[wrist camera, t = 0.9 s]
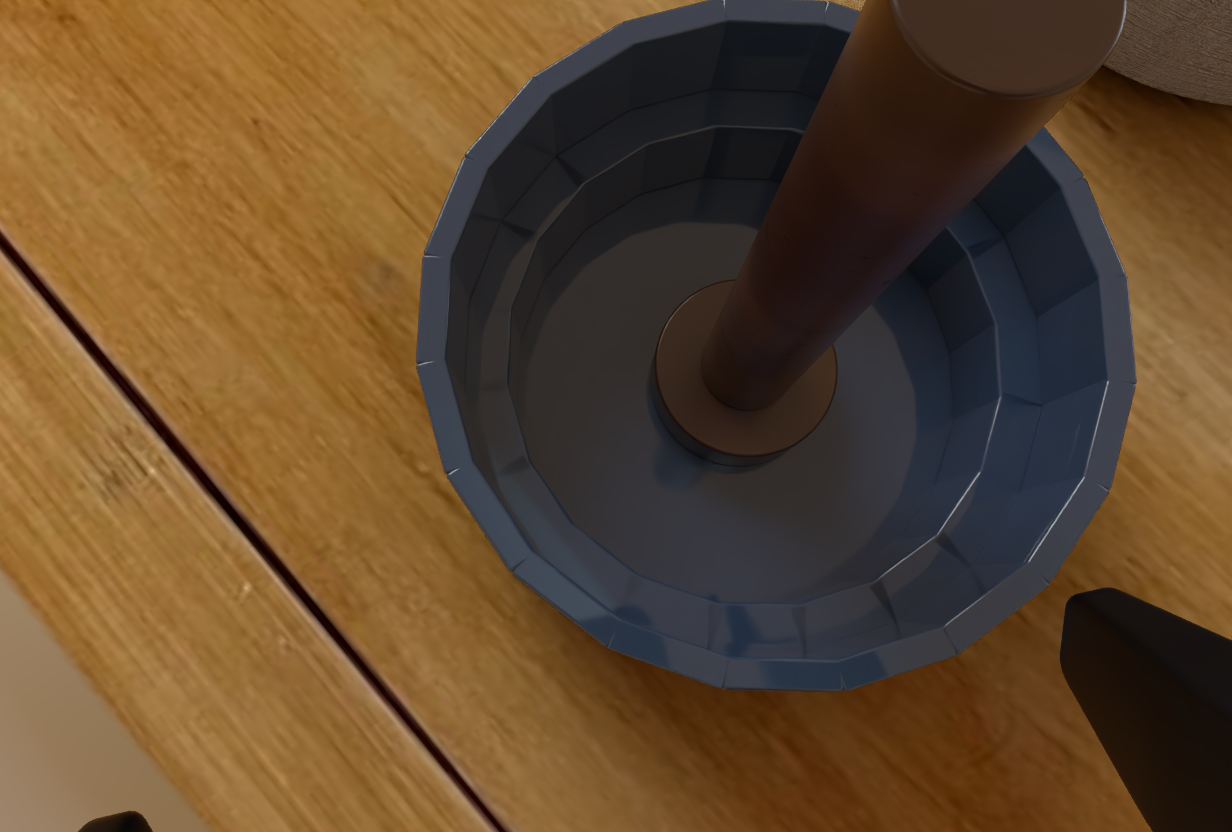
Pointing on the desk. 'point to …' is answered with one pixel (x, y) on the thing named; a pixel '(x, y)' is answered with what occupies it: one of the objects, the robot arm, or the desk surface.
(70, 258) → the desk surface
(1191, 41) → the planter
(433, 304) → the bowl
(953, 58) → the stirring stick
